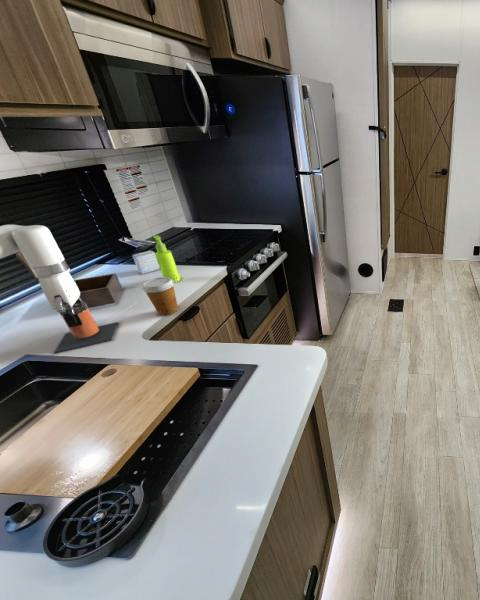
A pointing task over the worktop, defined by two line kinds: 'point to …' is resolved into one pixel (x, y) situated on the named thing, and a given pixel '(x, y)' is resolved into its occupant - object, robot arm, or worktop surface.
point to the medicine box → (146, 261)
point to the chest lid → (25, 263)
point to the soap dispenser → (166, 261)
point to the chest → (99, 290)
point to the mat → (87, 338)
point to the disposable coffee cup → (161, 294)
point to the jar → (83, 321)
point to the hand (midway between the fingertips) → (79, 319)
